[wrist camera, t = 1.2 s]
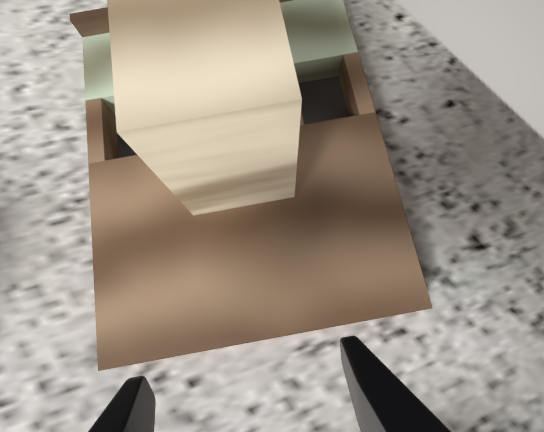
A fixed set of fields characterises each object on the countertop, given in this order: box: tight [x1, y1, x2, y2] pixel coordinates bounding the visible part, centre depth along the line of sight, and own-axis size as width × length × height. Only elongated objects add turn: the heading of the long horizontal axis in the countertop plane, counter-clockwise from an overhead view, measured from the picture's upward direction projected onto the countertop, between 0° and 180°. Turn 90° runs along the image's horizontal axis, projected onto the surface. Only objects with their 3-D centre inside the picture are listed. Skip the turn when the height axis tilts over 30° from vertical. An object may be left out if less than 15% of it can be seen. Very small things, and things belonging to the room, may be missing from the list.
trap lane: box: [70, 0, 432, 371], centre depth 23 cm, size 22×18×4 cm
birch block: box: [107, 0, 302, 216], centre depth 17 cm, size 6×6×10 cm
